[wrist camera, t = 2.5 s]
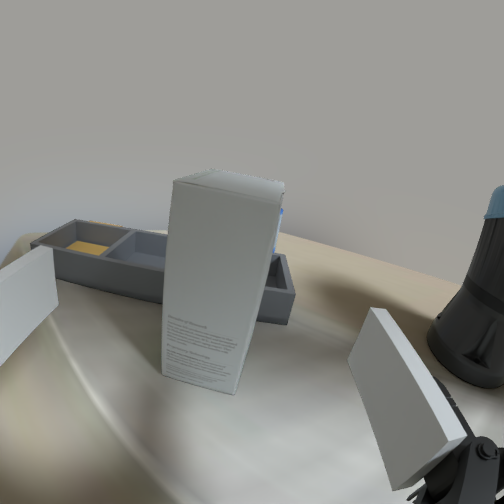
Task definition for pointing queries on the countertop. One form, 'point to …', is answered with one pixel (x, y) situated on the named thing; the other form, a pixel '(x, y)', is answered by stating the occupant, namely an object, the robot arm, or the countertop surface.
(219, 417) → the countertop surface
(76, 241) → the organiser
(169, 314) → the skincare box
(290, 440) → the countertop surface
